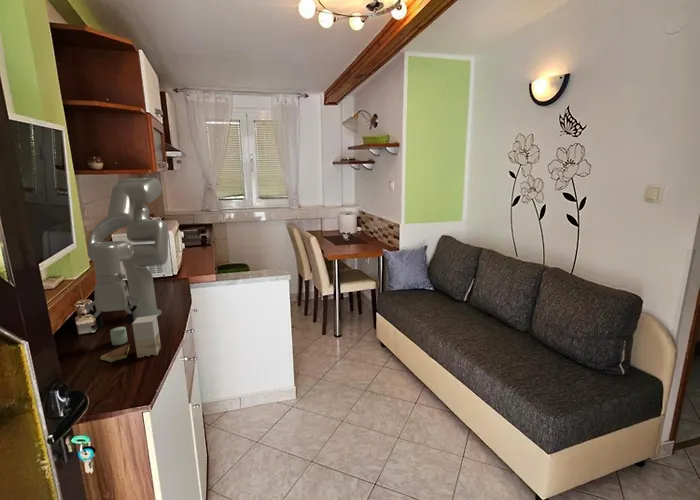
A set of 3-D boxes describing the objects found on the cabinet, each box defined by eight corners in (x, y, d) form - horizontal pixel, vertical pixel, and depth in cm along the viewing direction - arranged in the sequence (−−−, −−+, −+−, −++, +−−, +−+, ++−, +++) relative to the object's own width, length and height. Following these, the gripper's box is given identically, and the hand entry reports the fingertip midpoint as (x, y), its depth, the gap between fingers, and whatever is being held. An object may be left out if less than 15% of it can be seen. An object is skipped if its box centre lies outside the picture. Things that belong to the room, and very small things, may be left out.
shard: (130, 347, 136) (129, 342, 136) (144, 350, 133) (144, 345, 132) (99, 360, 126) (99, 355, 126) (114, 364, 123) (114, 359, 123)
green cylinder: (114, 340, 141) (112, 327, 140) (129, 338, 142) (127, 326, 141) (109, 346, 136) (107, 333, 135) (125, 344, 138) (123, 331, 137)
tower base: (142, 350, 132) (139, 333, 131) (161, 347, 134) (158, 331, 132) (137, 357, 126) (134, 340, 125) (157, 355, 128) (154, 338, 127)
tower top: (140, 333, 131) (137, 317, 130) (158, 331, 132) (156, 315, 131) (134, 340, 125) (132, 323, 124) (154, 338, 127) (152, 321, 126)
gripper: (139, 274, 140) (145, 319, 143) (86, 279, 136) (93, 325, 139) (133, 279, 133) (139, 325, 135) (76, 283, 129) (84, 332, 131)
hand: (115, 325), depth 137 cm, fingers open, 9 cm apart
